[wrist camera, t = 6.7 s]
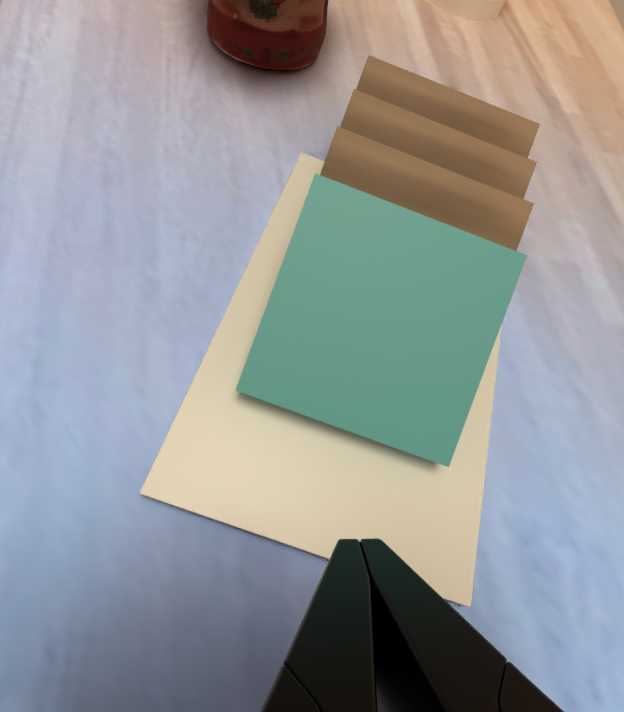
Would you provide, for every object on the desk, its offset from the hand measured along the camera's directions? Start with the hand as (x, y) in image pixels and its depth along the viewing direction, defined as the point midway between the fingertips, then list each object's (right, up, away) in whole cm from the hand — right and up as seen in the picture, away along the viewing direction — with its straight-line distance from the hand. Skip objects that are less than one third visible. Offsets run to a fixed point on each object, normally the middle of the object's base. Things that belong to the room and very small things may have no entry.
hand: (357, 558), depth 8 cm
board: (+2, +5, +17) cm, 18 cm away
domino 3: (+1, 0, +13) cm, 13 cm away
